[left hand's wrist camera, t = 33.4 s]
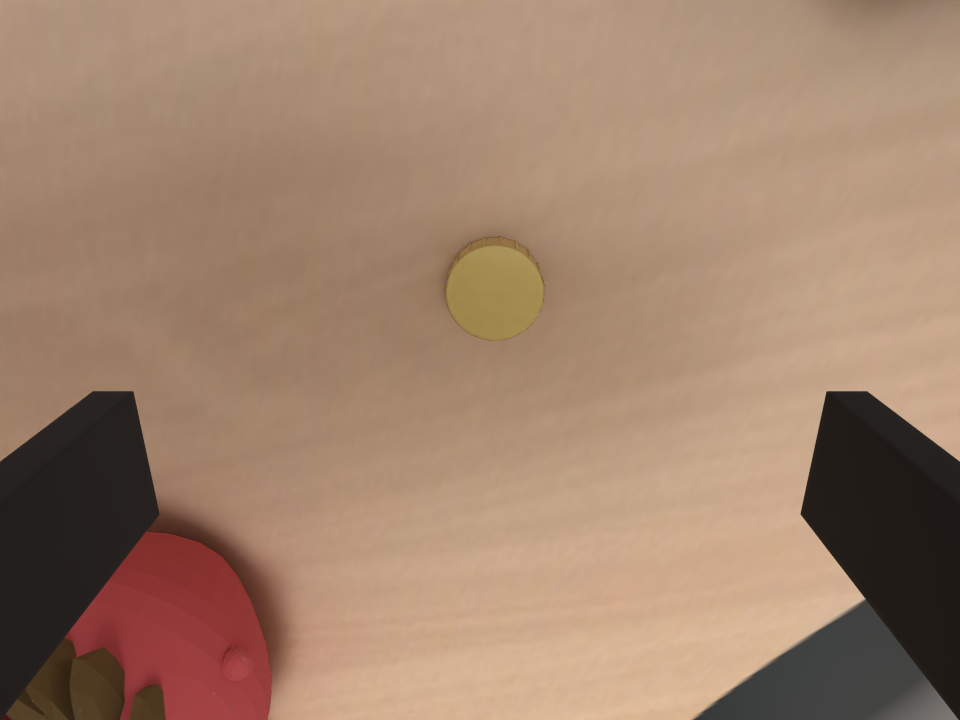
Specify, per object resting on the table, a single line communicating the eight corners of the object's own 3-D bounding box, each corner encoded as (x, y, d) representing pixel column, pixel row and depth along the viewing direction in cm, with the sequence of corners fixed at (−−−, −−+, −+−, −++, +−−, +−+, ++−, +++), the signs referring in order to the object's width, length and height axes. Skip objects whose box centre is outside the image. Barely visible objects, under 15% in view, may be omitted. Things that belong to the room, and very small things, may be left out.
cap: (560, 266, 26) (565, 276, 25) (510, 344, 27) (512, 358, 26) (477, 217, 26) (476, 225, 24) (430, 299, 27) (426, 311, 25)
